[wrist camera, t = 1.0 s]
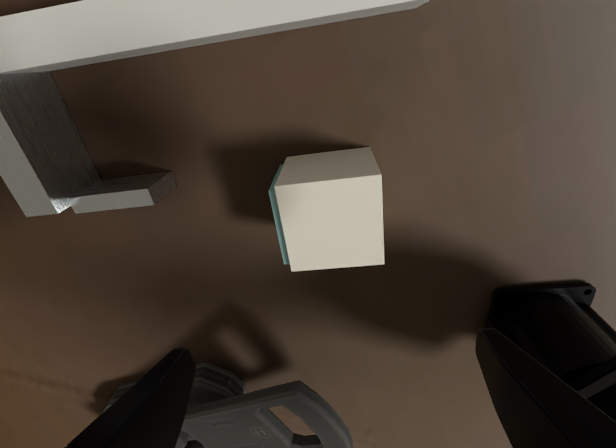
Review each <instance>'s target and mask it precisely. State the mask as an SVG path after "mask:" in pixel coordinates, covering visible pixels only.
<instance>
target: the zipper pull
mask: <svg viewBox="0 0 616 448" xmlns="http://www.w3.org/2000/svg"><path fill="white" fill-rule="evenodd" d="M195 365H196V373H195V377H194V381H193V385H192V390H191V394H190V398H189V402H188V407H187V411H186V415H185V419H184V422H183V425H182V428H181V431H180V434H179V437H178V440H177V443H176V446H175V448H352V444H353V440H352V438H351V435H350V432H349V429H348V428H347V426H346V425H345V423H344V422H343V420H342V419H341V418H340V417H339V415H338V414H337V413H336V412H335V411H334V409H333V408H332V407H331V406H330V405H329V404H328V403H327V402H326V401H325V400H324V399H323V398H322V397H321V396H320V395H319V394H317V393H316V392H315V391H314V390H312V389H311V388H309V387H308V386H307V385H305V384H304V383H302V382H301V381H300V380H298V381H294V382H290V383H286V384H282V385H277V386H273V387H269V388H265V389H261V390H257V391H254V392H250V393H246V387H245V384H244V383H243V382H242V381H241V380H240V379H239V378H238V377H237V376H236V375H235V374H234V373H232V372H230V371H228V370H225V369H223V368H220V367H218V366H216V365H213V364H211V363H208V362H202V363H198V364H195ZM138 381H139V380H136V381H133V382H129V383H125V384H121V385H120V386H119V388H118V389H117V390H116V392H115V393H114V394H113V396H112V397H111V399H110V400H109V402H108V403H107V405H106V406H105V408H104V410H103V411H102V413H103V412H104V411H105V410H107V409H108V408H109V407H110V406H111V405H112V404H113V403H114V402H115V401H117V400H118V399H119V398H120V397H121V396H122V395H123V394H124V393H125V392H126V391H128V390H129V389H130V388H131V387H132V386H133V385H134V384H135V383H136V382H138ZM282 405H283V406H284V407H286V408H287V409H289V410H290V411H291V412H293V413H294V414H296V415H297V416H298V417H300V418H301V419H302V420H303V421H304V422H305V424H306V425H307V426H308V427H309V428H310V429H311V430H312V431H313V432H314V433H315V434H316V435H309V436H303V435H299V434H294V433H293V432H292V431H290V430H289V429H288V428H287V427H286V426H285V425H284V424H283V423H282V422H281V421H280V420H279V419H278V418H277V417H276V416H275V415H274V414H273V413H272V412H271V411H270V410H269V409H268V408H267V407H275V406H282ZM102 413H101V414H102ZM101 414H100V415H101Z"/></svg>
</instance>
